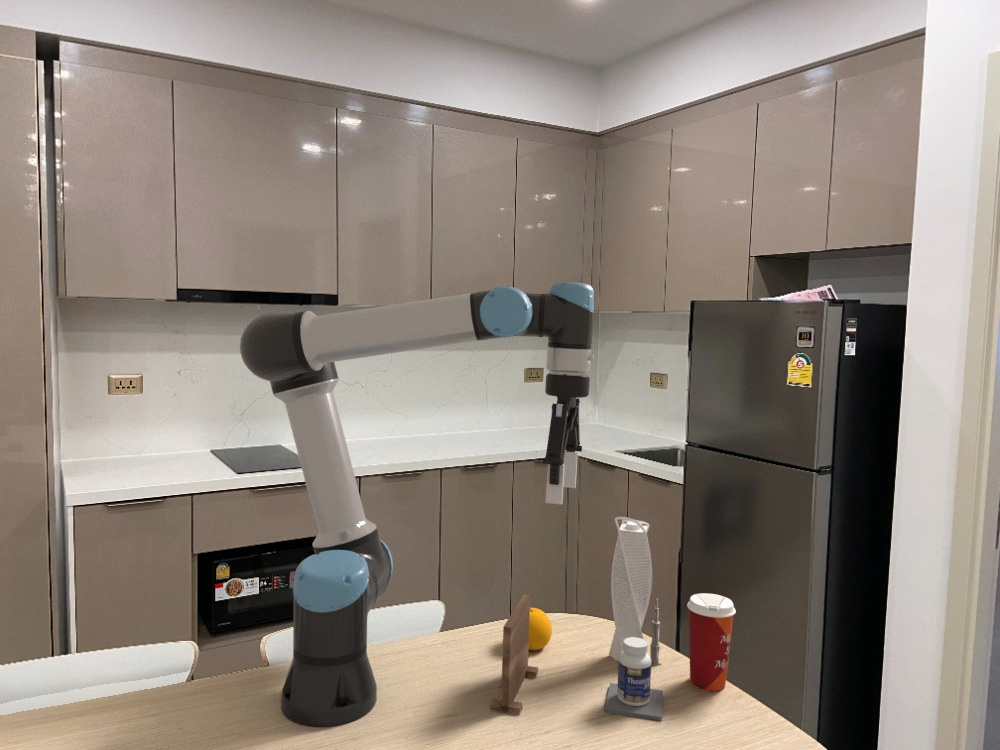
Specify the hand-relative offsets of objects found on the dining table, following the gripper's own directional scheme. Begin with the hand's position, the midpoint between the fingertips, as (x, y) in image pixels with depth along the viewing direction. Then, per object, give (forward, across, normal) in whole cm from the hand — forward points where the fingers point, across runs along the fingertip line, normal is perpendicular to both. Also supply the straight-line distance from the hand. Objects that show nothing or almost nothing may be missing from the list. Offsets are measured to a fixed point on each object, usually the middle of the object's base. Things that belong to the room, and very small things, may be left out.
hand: (561, 495), depth 127 cm
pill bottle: (+32, -4, -15) cm, 36 cm away
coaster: (+33, -4, -15) cm, 36 cm away
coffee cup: (+33, +7, -27) cm, 43 cm away
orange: (+33, +12, +6) cm, 36 cm away
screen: (+33, -6, +5) cm, 34 cm away
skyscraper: (+33, +12, -13) cm, 38 cm away
